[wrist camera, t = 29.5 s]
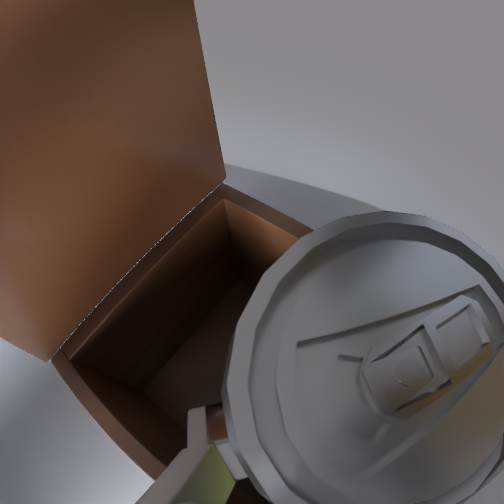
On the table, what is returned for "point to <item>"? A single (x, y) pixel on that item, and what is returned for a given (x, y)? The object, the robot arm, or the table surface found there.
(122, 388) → the chest
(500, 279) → the beer can
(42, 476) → the table surface
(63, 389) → the table surface
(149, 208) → the lid
